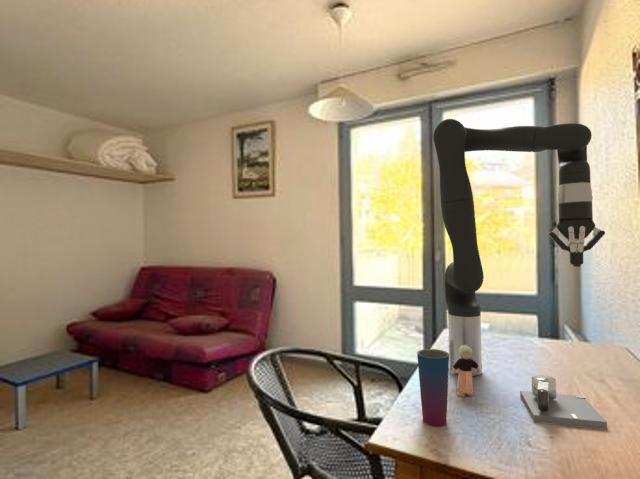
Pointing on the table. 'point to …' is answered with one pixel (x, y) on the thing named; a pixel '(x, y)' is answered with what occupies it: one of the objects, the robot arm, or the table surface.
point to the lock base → (564, 411)
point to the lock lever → (543, 390)
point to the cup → (433, 385)
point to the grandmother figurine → (465, 371)
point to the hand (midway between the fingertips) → (576, 266)
